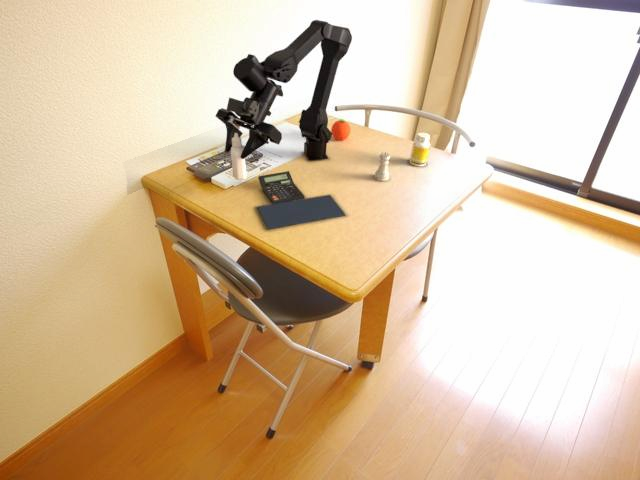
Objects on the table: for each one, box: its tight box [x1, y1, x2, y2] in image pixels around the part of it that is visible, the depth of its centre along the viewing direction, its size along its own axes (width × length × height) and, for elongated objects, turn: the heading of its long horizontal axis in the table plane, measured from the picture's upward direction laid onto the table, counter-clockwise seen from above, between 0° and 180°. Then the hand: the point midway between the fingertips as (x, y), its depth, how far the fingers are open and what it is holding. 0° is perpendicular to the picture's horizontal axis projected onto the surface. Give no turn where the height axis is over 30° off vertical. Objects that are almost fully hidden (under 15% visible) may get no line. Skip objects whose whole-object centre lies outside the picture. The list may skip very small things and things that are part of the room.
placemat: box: [256, 194, 346, 230], centre depth 107 cm, size 21×10×1 cm, turn 112°
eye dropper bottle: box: [230, 133, 247, 181], centre depth 106 cm, size 4×6×12 cm
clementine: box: [330, 119, 352, 141], centre depth 145 cm, size 8×7×7 cm
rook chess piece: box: [374, 152, 391, 182], centre depth 122 cm, size 4×4×8 cm
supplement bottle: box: [409, 132, 431, 167], centre depth 132 cm, size 5×5×10 cm
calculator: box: [258, 170, 305, 204], centre depth 114 cm, size 9×12×3 cm
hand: (233, 155), depth 105 cm, fingers closed on eye dropper bottle, 5 cm apart
